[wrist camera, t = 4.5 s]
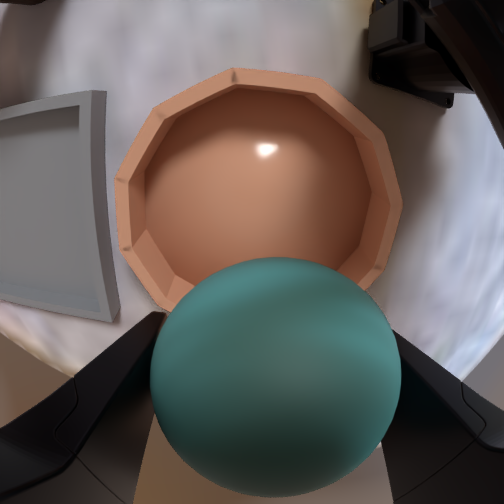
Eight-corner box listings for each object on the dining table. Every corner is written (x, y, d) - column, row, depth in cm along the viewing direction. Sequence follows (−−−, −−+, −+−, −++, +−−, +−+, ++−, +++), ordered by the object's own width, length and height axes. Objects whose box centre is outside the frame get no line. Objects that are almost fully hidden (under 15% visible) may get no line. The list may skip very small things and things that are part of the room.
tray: (106, 91, 15) (91, 90, 13) (120, 306, 22) (112, 322, 20) (-37, 123, 14) (-52, 127, 12) (-10, 283, 21) (-20, 293, 19)
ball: (378, 228, 8) (503, 380, 3) (332, 368, 11) (367, 504, 6) (171, 210, 8) (69, 392, 3) (179, 362, 11) (154, 509, 5)
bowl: (393, 104, 15) (421, 105, 12) (346, 310, 22) (358, 339, 19) (139, 75, 14) (117, 70, 11) (144, 297, 21) (131, 326, 18)
